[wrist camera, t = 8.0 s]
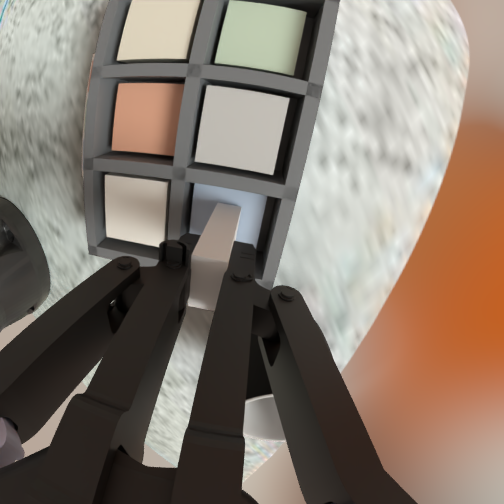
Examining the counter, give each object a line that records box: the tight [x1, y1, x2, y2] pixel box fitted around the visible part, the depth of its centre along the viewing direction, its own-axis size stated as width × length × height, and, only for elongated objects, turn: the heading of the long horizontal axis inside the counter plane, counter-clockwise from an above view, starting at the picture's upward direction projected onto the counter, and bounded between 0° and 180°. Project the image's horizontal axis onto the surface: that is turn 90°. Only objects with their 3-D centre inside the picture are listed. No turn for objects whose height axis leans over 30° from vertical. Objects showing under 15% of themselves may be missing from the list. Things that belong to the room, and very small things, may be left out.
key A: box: [189, 183, 267, 249], centre depth 18 cm, size 4×4×2 cm
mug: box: [243, 320, 333, 442], centre depth 22 cm, size 12×9×10 cm
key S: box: [117, 0, 204, 64], centre depth 12 cm, size 4×4×2 cm
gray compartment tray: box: [82, 0, 340, 290], centre depth 15 cm, size 17×20×4 cm
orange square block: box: [112, 83, 185, 156], centre depth 15 cm, size 4×4×2 cm
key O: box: [105, 172, 172, 247], centre depth 17 cm, size 4×4×2 cm
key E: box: [215, 0, 307, 78], centre depth 13 cm, size 4×4×2 cm
